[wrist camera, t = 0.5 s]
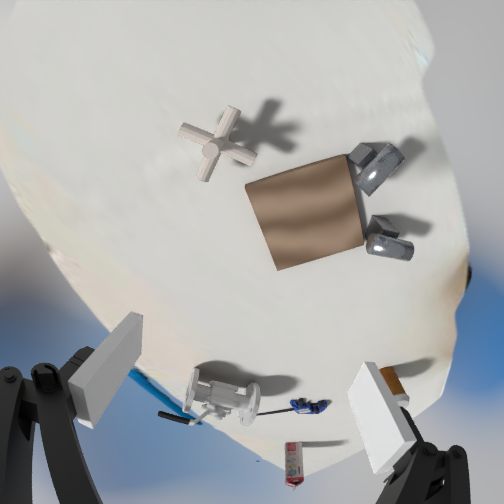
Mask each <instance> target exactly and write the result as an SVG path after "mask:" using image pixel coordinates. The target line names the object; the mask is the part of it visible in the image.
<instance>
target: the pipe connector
mask: <svg viewBox="0 0 504 504" xmlns="http://www.w3.org/2000/svg"><path fill="white" fill-rule="evenodd" d="M240 113H241V111H240V110H238V109H236V108H234V107H231V106H227V108H226V110H225V112H224V114H223V116H222V118H221V120H220V122H219V125H218V127H217V129H216V131H215V133H214V134H211V133H209V132H207V131H204V130H202V129H199V128H197V127H194V126H192V125H189V124H187V123H183V124H182V125H181V127H180V129H179V132H178V135H179V136H181V137H184V138H186V139H189V140H191V141H194V142H196V143H199V144H201V145H203V148H202V154H203V156H204V158H203V160H202V162H201V164H200V167H199V169H198V172H197V174H196V178H197V179H198V180H200V181H203V182H208V181H209V179H210V177H211V174H212V172H213V170H214V168H215V166H216V163H217V161H218V159H219V157H220V155H221V153H222V154H224V155H226V156H229V157H231V158H233V159H235V160H238V161H240V162H242V163H244V164H246V165H249V166H252V165H253V163H254V161H255V159H256V156H257V154H256V153H254V152H252V151H250V150H248V149H246V148H243V147H241V146H239V145H237V144H235V143H232V142H230V141H229V136H230V134H231V132H232V129H233V127H234V125H235V123H236V121H237V119H238V117H239V115H240Z"/></svg>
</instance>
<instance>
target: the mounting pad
mask: <svg viewBox="0 0 504 504" xmlns="http://www.w3.org/2000/svg"><path fill="white" fill-rule="evenodd" d="M245 190H246V192H247V195H248V197H249V200H250V202H251V205H252V207H253V210H254V212H255V215H256V217H257V220H258V222H259V225H260V227H261V230H262V232H263V235H264V237H265V240H266V243H267V245H268V248H269V250H270V253H271V255H272V258H273V260H274V263H275V266H276V268H277V271H279V270H282V269H286V268H289V267H293V266H296V265H299V264H303V263H306V262H310V261H313V260H316V259H320V258H323V257H326V256H330V255H333V254H336V253H339V252H343V251H346V250H349V249H352V248H356V247H359V246H362V245H364V240H363V234H362V229H361V223H360V218H359V213H358V208H357V203H356V198H355V194H354V189H353V185H352V181H351V176H350V172H349V168H348V164H347V160H346V157H345V156H344V155H343V154H342V155H338V156H334V157H331V158H327V159H324V160H320V161H317V162H314V163H310V164H307V165H304V166H300V167H297V168H294V169H291V170H287V171H284V172H281V173H278V174H275V175H272V176H269V177H266V178H263V179H260V180H257V181H254V182H251V183H248V184H245Z"/></svg>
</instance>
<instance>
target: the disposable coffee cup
mask: <svg viewBox="0 0 504 504" xmlns="http://www.w3.org/2000/svg"><path fill="white" fill-rule="evenodd" d="M379 371H380V373H381V375H382V376H383V378H384V380H385V382H386V384H387V385H388V387H389V389H390V391H391V392H392V394H393V396H394V398H395V400H396V402H397V403H398V405H399V407H400V406H403V407H404V408H406V407H407V406H408V404H409V396H408V395H407V394H406V393H405V391H404V389H403V387H402V385H401V383H400V381H399V379H398V377H397V375H396V373H395V371H394V369H393V368H392V367H385V368H382V369H380V370H379Z"/></svg>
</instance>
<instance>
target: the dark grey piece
mask: <svg viewBox="0 0 504 504" xmlns="http://www.w3.org/2000/svg"><path fill="white" fill-rule="evenodd" d="M398 235H399V232H398V231H397V230H396V228H395V227H394V226H393V225H392V224H391V223H390V222H389V221H388V219H385V218H381V217H377V216H373V215H372V217H371V220H370V223H369V226H368V228H367V231H366V234H365V236H364V237H365V239H366V240H367V243H366V250H367V253H368V254H372V255H378V256H383V257H388V258H393V259H398V260H403V261H410V260H411V258H412V257H413V254H414V245H413V243H412V242H409V241H405V240H401V239H397V238H398Z"/></svg>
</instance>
